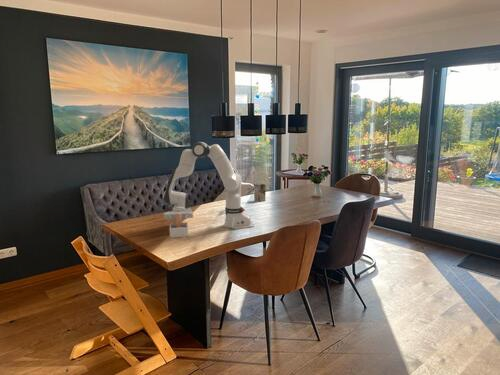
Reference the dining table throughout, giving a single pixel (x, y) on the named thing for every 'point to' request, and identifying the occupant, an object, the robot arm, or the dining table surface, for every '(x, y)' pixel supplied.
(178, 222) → the peg
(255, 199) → the coffee box
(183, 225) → the open box
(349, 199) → the dining table surface
